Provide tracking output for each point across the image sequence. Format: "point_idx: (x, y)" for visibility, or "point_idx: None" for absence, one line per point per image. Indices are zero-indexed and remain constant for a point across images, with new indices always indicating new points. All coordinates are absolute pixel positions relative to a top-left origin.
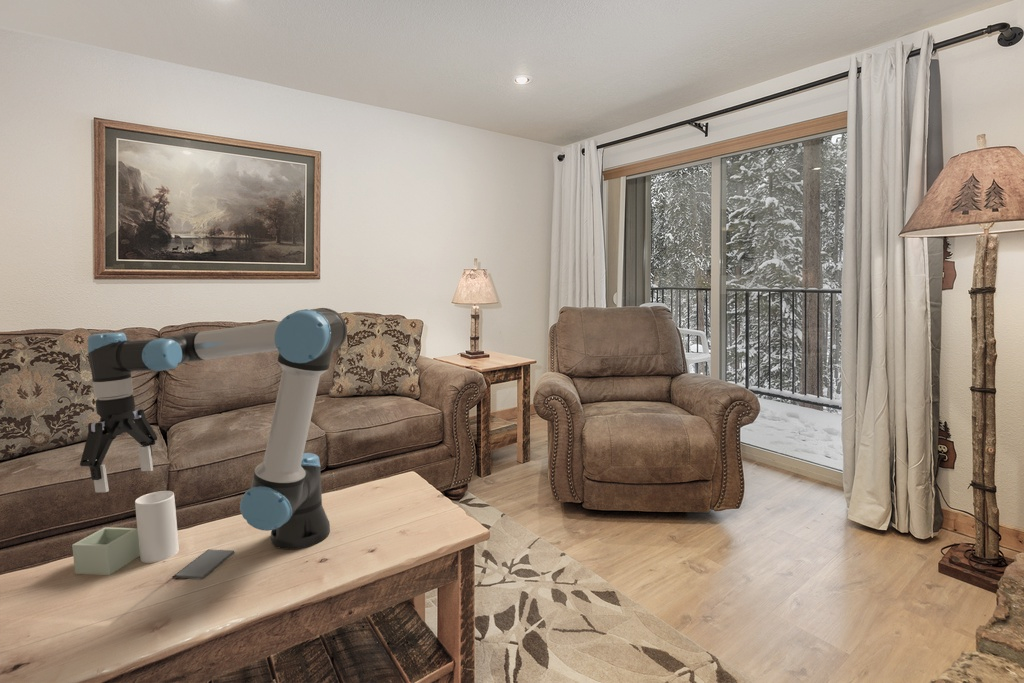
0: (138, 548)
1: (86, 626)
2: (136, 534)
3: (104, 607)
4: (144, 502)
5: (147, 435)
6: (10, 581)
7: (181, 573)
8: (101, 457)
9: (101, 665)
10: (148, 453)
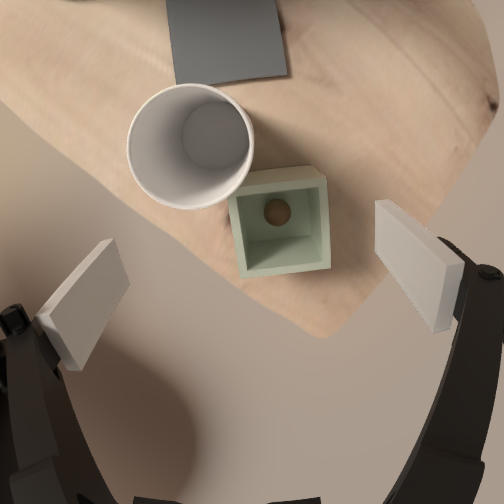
0: None
1: (429, 78)
2: None
3: (389, 89)
4: (190, 198)
5: (5, 393)
6: (341, 324)
7: (272, 25)
8: (491, 299)
9: (468, 5)
10: (71, 289)
